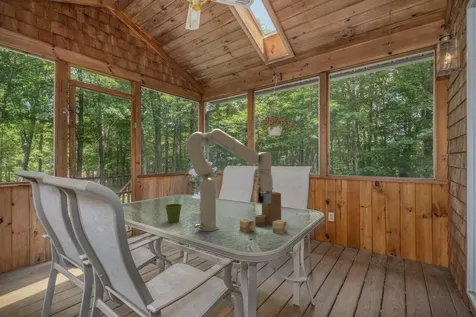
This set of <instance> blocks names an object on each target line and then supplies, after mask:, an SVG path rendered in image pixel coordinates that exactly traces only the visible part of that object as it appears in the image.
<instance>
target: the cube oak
mask: <svg viewBox="0 0 476 317" xmlns="http://www.w3.org/2000/svg"><path fill="white" fill-rule="evenodd" d="M254 223H255V221H254V220H253V219H249V218H245V219H240V220H239V231H241V232H242V233H251V232H254V231H255V229H254V228H255V227H254V226H255V224H254Z"/></svg>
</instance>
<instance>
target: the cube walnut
mask: <svg viewBox="0 0 476 317" xmlns="http://www.w3.org/2000/svg"><path fill="white" fill-rule="evenodd" d="M254 217H255V218H254V220H255V221H254V223H255V224H254V226H255V227H264V228H265V226H266V225H267V215H262V214H256V215H255V216H254ZM266 227H267V226H266Z"/></svg>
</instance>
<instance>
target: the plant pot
mask: <svg viewBox="0 0 476 317" xmlns="http://www.w3.org/2000/svg"><path fill="white" fill-rule="evenodd" d="M182 206H183V204H182V203H170V204H169V203H168V204H165V205H164V207H165V210H166V216H167V222H168V223H177V222H178V223H179V221H180V215H181V210H182Z"/></svg>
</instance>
